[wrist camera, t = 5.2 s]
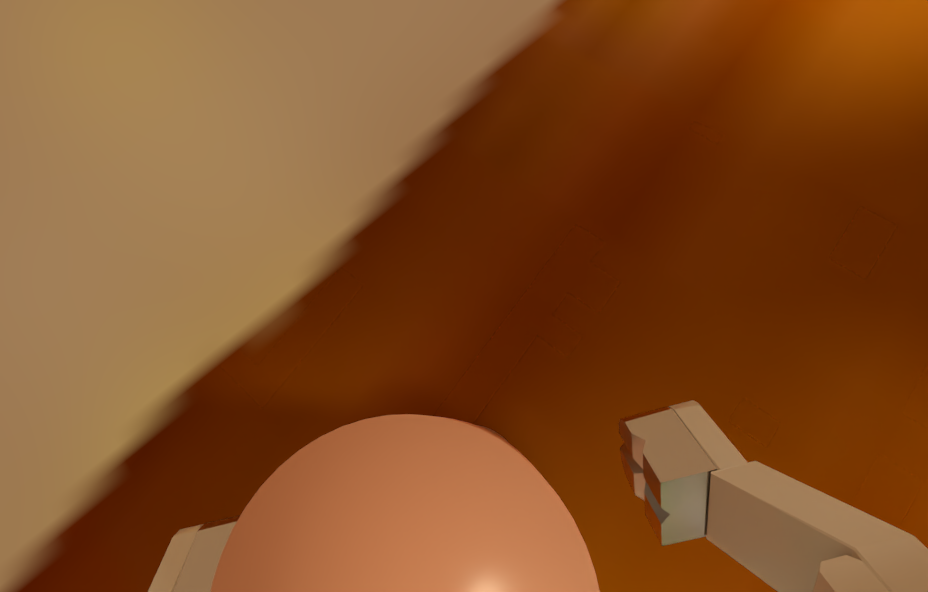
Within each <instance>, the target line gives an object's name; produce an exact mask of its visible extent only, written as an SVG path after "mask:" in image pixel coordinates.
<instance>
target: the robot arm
mask: <svg viewBox="0 0 928 592" xmlns="http://www.w3.org/2000/svg"><path fill="white" fill-rule="evenodd" d="M619 433H620V435H621V437H622V439H623V441H624V444H623V445H622V446H621V448H620V450H621V459H622V463H623V467H624V471H625V474H626V476H627V479H628V481H629V484H630V486H631V488H632V490H633V492H634V494H635V495H636V496H638V497H639V498H641V499H643V500H644V501H645V515H646V517H647V519H648V521H649V523H650V525H651V526H652V528H653V530H654V532H655V534H656V536H657V538H658V540H659V542H660V544H661V545H662V546H664V545H669V544H673V543H678V542H682V541H687V540H691V539H696V538H700V537H705V536H707V538H706V539H708V540H709V541H710V542H712V543H713V544H714V545H716V546H717V547H718V548H720V549H721V550H722V551H724V552H725V553H726V554H728V555H729V556H731V557H732V558H733V559H735V560H736V561H737V562H739V563H740V564H741V565H743V566H744V567H745V568H747V569H748V570H749V571H751V572H752V573H753V574H755V575H756V576H758V577H759V578H760V579H762V580H763V581H764V582H766V583H767V584H768V585H770V586H771V587H772V588H774V589H775V590H776V591H778V592H928V549H927V548H926V547H925V546H924V545H923V544H922V543H921V542H920V541H919V540H918V539H917V538H916V537H915V536H913V535H911V534H909V533H907V532H905V531H903V530H901V529H899V528H897V527H894V526H892V525H890V524H888V523H886V522H884V521H882V520H880V519H878V518H875V517H873V516H871V515H869V514H867V513H865V512H863V511H861V510H859V509H856V508H854V507H852V506H850V505H848V504H846V503H844V502H842V501H840V500H837V499H835V498H833V497H831V496H829V495H827V494H825V493H823V492H821V491H819V490H816V489H814V488H812V487H810V486H808V485H806V484H804V483H802V482H800V481H797V480H795V479H793V478H791V477H789V476H787V475H785V474H783V473H781V472H778V471H776V470H774V469H772V468H770V467H768V466H766V465H764V464H762V463H759V462H757V461H752V462H747V461H746V460H745V458H744V457H743V456H742V455H741V454H740V452H739V451H738V450H737V449H736V448H735V446H734V445H733V444H732V443H731V442H730V440H729V439H728V438H727V437H726V436H725V434H724V433H723V432H722V431H721V429H720V428H719V427H718V426H717V425H716V423H715V422H714V421H713V420H712V419H711V417H710V416H709V415H708V414H707V413H706V411H705V410H704V409H703V408H702V407H701V405H700V404H699V403H698V402H696V401H694V400H691V401H687V402H683V403H680V404H676V405H672V406H669V407H663V408H659V409H655V410H652V411H648V412H644V413H640V414H637V415H633V416H629V417H625V418H622V419H620V420H619ZM240 516H241V515H239V516H235V517H230V518H226V519H222V520H217V521H213V522H208V523H204V524H201V525H196V526H192V527H188V528H184V529H180V530H179V531H178V532H177V533H176V534H175V535H174V536H173V537H172V539H171V542H170V544H169V546H168V548H167V550H166V553H165V555H164V557H163V559H162V561H161V564H160V566H159V568H158V570H157V572H156V575H155V577H154V579H153V581H152V583H151V586H150V588H149V590H148V592H211V587H212V582H213V579H214V576H215V573H216V570H217V566H218V563H219V560H220V557H221V554H222V552H223V550H224V547H225V545H226V543H227V541H228V538H229V536H230V534H231V531H232V529H233V528H234V526H235V524H236V522H237V521H238V519H239V517H240Z"/></svg>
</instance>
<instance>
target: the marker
mask: <svg viewBox="0 0 928 592" xmlns="http://www.w3.org/2000/svg"><path fill="white" fill-rule="evenodd" d="M211 592H600V591H599V586H598V582H597V577H596V573H595V570H594V567H593V564H592V561H591V558H590V555H589V552H588V550H587V547H586V544H585V542H584V540H583V538H582V536H581V534H580V532H579V530H578V527H577V525H576V523H575V521H574V519H573V517H572V516H571V514H570V513H569V511H568V510H567V508H566V507H565V505H564V503H563V502H562V500H561V499H560V497H559V496H558V494H557V493H556V492H555V491H554V490H553V488H552V487H551V486H550V485H549V484H548V482H547V481H546V480H545V479H544V477H543V476H542V475H541V474H540V473H539V472H538V471H537V469H536V468H535V467H534V466H533V465H532V464H531V463H530V461H529V460H528V459H527V458H526V457H525V456H523V455H522V454H521V453H520V452H519V451H518V450H517V449H516V448H515V447H514V446H512V445H511V444H509V442H508V441H507V440H506V439H505V438H504V437H503V436H501V435H500V434H499V433H497V432H496V431H494V430H492V429H490V428H487V427H485V426H480V425H474V424H472V423H469V422H465V421H461V420H456V419H452V418H444V417H437V416H427V415H416V414H399V415H385V416H379V417H374V418H368V419H363V420H360V421H357V422H354V423H351V424H348V425H345V426H342V427H339V428H337V429H335V430H333V431H331V432H329V433H327V434H325V435H323V436H321V437H319V438H317V439H316V440H314V441H312V442H311V443H309V444H308V445H306V446H305V447H303V448H302V449H300V450H298V451H297V452H296V453H295V454H294V455H292V456H291V457H290V458H289V459H288V460H286V461H285V462H284V463H283V464H282V465H280V466H279V467H278V468H277V469H276V471H275V472H274V473H273V474H272V475H271V476H270V477H269V478H268V479H267V480H266V481H265V482H264V483H263V484H262V485H261V487H260V488H259V489H258V491H257V492H256V493H255V495H254V496H253V497H252V499H251V500H250V502H249V503H248V504H247V506H246V507H245V509H244V510H243V512H242V514H241V516H240V517H239V519H238V521H237V522H236V524H235V526H234V528H233V529H232V531H231V534H230V536H229V538H228V541H227V543H226V545H225V547H224V550H223V552H222V554H221V557H220V560H219V563H218V566H217V570H216V573H215V576H214V579H213V582H212V587H211Z"/></svg>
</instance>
